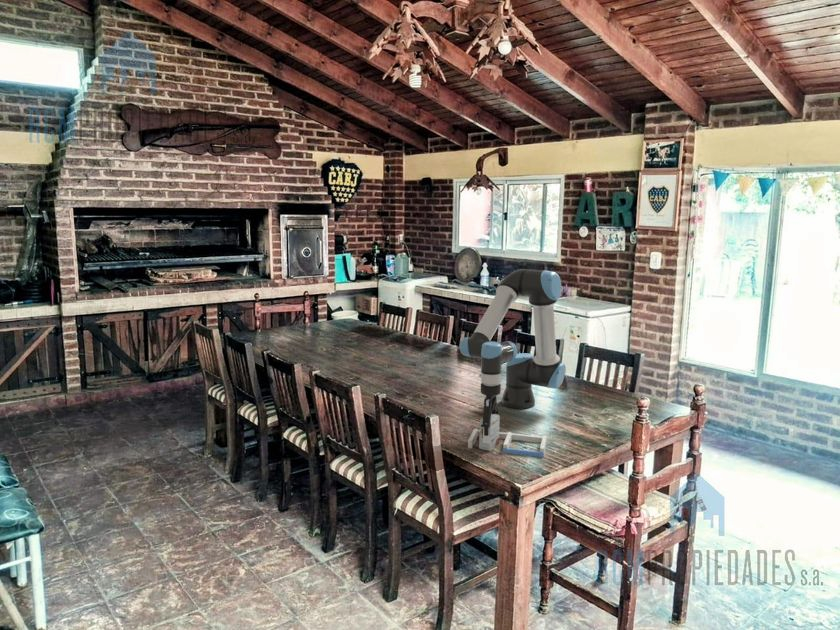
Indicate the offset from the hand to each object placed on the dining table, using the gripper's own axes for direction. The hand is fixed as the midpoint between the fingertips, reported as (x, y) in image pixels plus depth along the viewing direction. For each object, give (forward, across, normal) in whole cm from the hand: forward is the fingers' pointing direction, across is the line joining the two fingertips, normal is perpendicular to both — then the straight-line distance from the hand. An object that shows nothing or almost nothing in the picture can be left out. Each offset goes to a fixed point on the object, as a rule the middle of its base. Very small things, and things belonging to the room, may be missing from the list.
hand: (489, 436), depth 245 cm
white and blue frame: (+4, -3, +7) cm, 8 cm away
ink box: (+4, 0, 0) cm, 4 cm away
